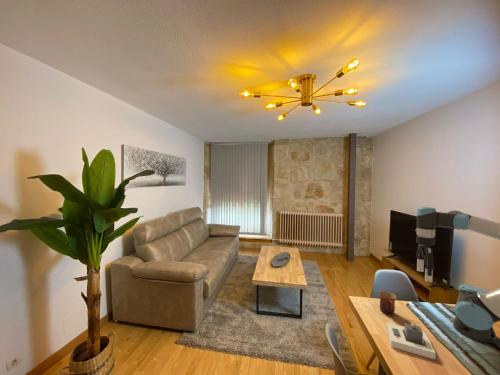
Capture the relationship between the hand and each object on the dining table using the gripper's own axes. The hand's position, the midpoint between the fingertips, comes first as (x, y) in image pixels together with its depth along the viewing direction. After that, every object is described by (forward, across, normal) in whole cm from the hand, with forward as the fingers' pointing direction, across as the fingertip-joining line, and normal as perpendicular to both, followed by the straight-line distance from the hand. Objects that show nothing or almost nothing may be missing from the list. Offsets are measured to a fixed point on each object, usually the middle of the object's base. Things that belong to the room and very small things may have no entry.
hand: (424, 276), depth 111 cm
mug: (+27, -4, -15) cm, 31 cm away
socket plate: (+27, +18, -10) cm, 34 cm away
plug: (+26, +18, -8) cm, 33 cm away
